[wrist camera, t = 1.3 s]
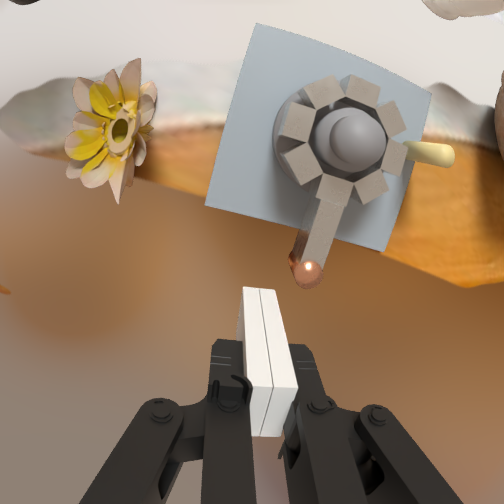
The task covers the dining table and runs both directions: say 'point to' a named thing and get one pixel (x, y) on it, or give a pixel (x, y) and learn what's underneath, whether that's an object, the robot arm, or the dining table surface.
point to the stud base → (314, 136)
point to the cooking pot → (500, 118)
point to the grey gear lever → (329, 186)
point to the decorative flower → (110, 128)
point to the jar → (464, 7)
